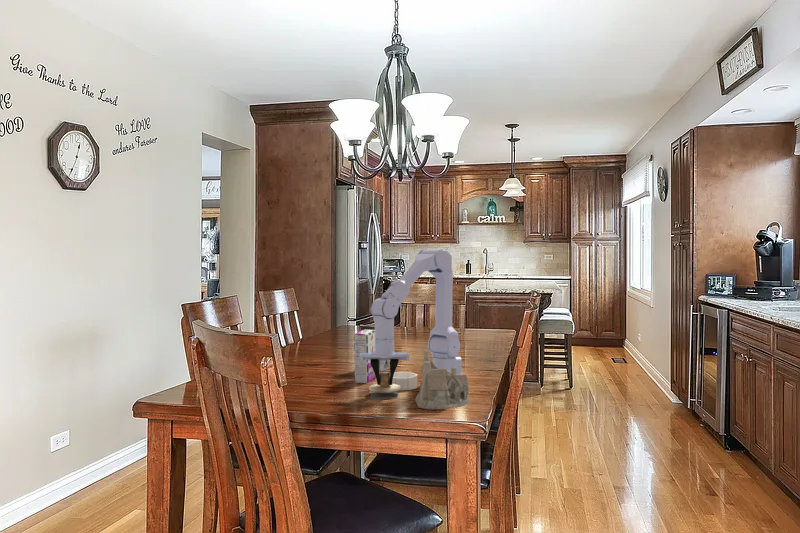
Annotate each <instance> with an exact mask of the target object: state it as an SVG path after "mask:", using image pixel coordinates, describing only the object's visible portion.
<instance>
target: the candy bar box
mask: <svg viewBox="0 0 800 533" xmlns="http://www.w3.org/2000/svg"><path fill="white" fill-rule="evenodd" d="M353 351H354V352H353V356H354V358H353V359H354V361H353V362H354V383H358V384H359V383H360V384H362V383H363V384H369V383H370V382H371V381H373V380H375V379H376V376H375V373H374V370H373V368H372V366H371V364H370V362H371V360H363V361H360V353H374V352H375V330H362V331H361V330H360V331H358V332H355V333H354V334H353Z"/></svg>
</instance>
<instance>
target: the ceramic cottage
mask: <svg viewBox="0 0 800 533" xmlns="http://www.w3.org/2000/svg"><path fill="white" fill-rule="evenodd" d="M423 361H424V363H423V364H422V365H421V367H420V372H421V382H420V385H419V392H418V393H417V395H416V396H415V402H416V405H417V406H418V408H421V409H425V410H445V409H451V408H459V407H462V406H465V405H469V404H470V403H471V402H470V397H468V395H469V391H470V388H469V387H470V386H469V379H468V376H467V373H466V374H465V373H464V374H463V373H462V374H461V375H457V374H456V367H452V368H451V372H449V371H448V370H447V369H438V366H436V365H435V364H434V363H433V360H431V359H430V355H429V350H424V351H423ZM458 406H459V407H458Z"/></svg>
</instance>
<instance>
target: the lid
mask: <svg viewBox="0 0 800 533" xmlns="http://www.w3.org/2000/svg"><path fill="white" fill-rule="evenodd" d="M379 374H380V385H377V383H374V384H371V385H369V387H368V389H369V391H370V392H371V393H372V392H378V393H391V392H396V391H398V392H399V391H401V390H400V385H397V384H392V385H390V371H389V372H388V371H381V372H379Z"/></svg>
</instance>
